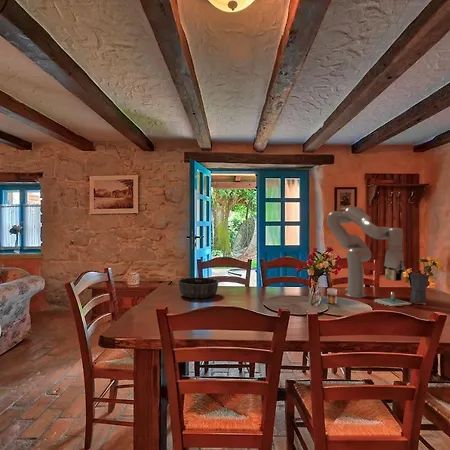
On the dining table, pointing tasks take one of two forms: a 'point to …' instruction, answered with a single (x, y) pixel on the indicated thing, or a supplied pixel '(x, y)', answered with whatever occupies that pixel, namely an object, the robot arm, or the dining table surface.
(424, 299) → the moka pot
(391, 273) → the birch collar
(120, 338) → the dining table surface
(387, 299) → the post board
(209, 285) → the bundt pan
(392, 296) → the steel post
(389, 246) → the robot arm
